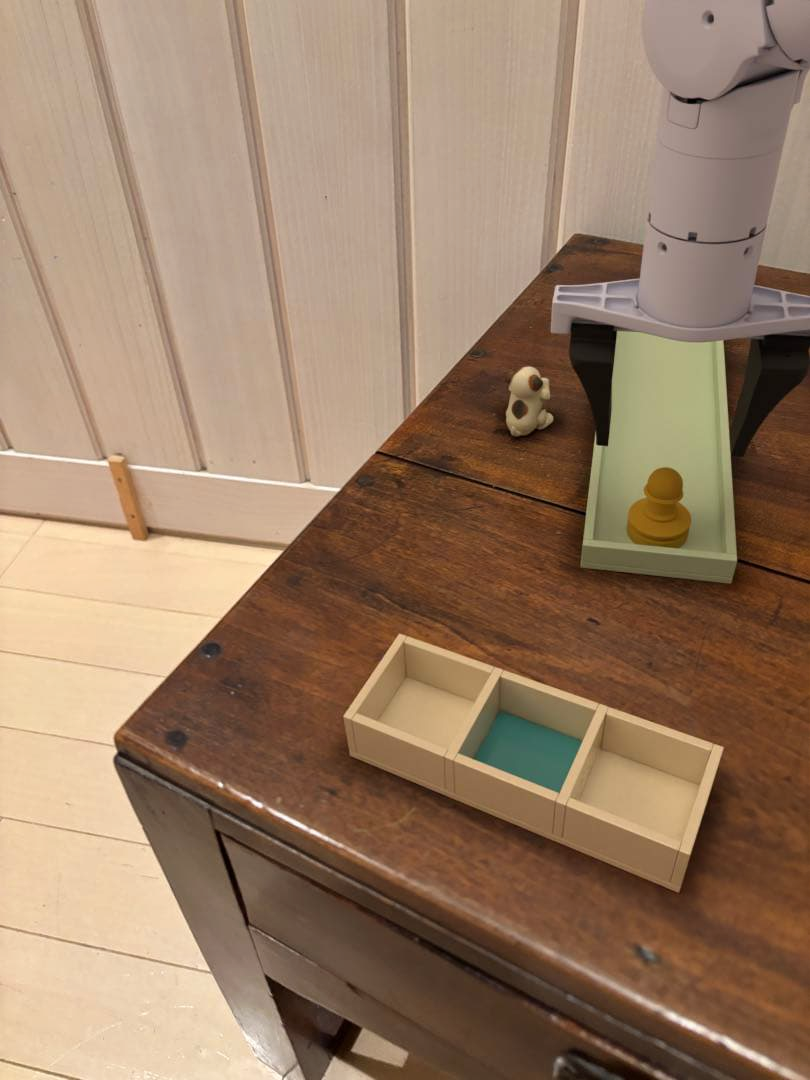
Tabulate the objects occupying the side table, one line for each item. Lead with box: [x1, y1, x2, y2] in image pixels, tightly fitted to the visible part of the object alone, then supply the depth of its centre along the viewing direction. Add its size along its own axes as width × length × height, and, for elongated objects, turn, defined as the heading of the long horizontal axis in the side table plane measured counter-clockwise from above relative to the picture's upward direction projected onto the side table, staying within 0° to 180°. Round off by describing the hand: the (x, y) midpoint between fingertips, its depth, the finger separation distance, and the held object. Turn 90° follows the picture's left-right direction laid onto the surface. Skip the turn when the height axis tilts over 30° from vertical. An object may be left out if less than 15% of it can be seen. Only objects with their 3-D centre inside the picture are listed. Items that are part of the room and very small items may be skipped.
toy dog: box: [504, 365, 554, 437], centre depth 69 cm, size 4×5×5 cm
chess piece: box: [626, 467, 691, 548], centre depth 58 cm, size 4×4×5 cm
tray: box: [579, 331, 738, 585], centre depth 69 cm, size 34×9×2 cm, turn 168°
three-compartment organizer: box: [342, 633, 725, 893], centre depth 47 cm, size 18×6×4 cm, turn 63°
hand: (668, 441), depth 55 cm, fingers open, 7 cm apart
